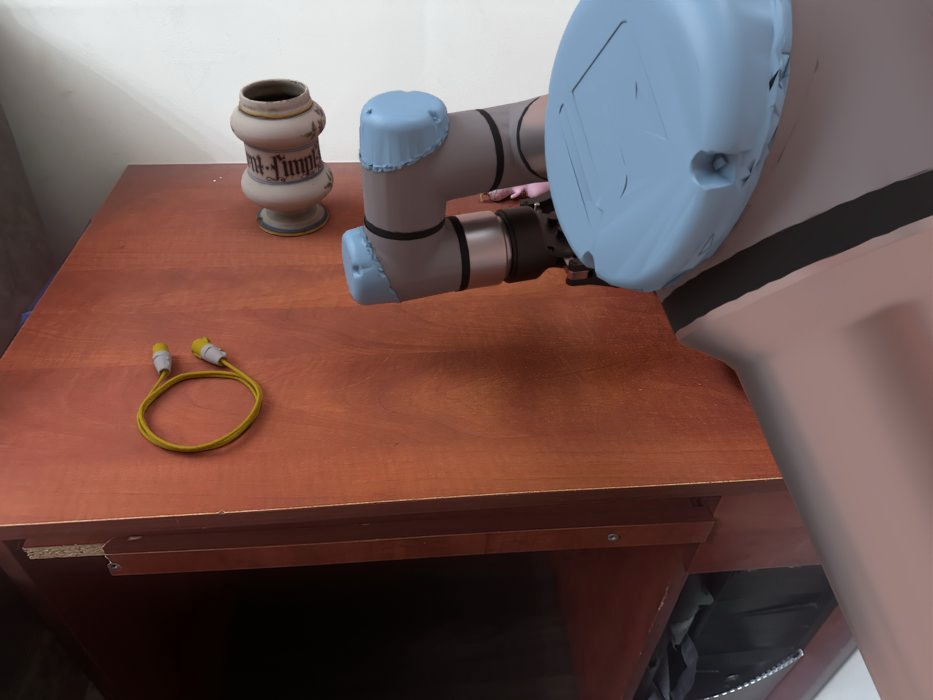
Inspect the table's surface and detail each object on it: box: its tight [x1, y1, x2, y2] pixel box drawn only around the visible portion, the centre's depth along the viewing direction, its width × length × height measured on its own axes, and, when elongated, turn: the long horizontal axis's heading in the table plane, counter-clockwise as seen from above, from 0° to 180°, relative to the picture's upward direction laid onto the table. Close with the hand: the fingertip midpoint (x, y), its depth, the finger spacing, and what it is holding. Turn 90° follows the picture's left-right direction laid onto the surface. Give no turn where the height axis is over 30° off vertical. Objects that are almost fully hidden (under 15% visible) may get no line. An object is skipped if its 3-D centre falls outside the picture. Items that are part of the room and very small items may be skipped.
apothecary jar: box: [229, 78, 334, 237], centre depth 93 cm, size 12×12×18 cm
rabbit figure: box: [479, 182, 550, 202], centre depth 104 cm, size 6×6×15 cm
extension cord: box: [136, 336, 264, 453], centre depth 70 cm, size 12×16×2 cm
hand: (680, 220), depth 77 cm, fingers open, 13 cm apart
